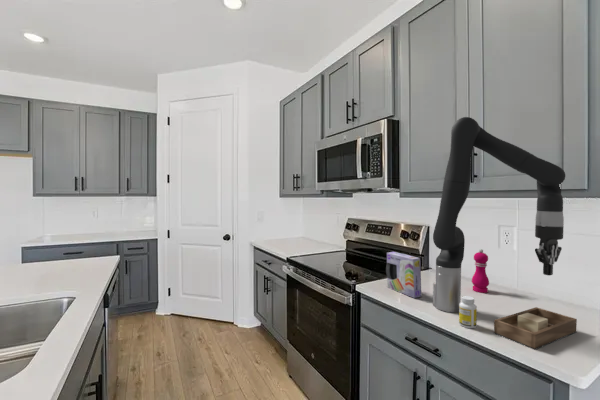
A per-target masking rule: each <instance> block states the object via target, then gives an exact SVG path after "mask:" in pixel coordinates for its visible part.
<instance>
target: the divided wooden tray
mask: <svg viewBox="0 0 600 400" xmlns="http://www.w3.org/2000/svg"><path fill="white" fill-rule="evenodd" d="M525 313H530V314H534V315H537V316H540V317H543V318H546V319H548V327H547V328H545V329H542V330H539V331H537V332H532V331H529V330H526V329H524V328H521V327H518V315H521V314H525ZM493 322H494V323H493V334H494V333H495V335H497V334H498V336H499V335H500V337H502V336H503V337H502V338H504V337H505V339H507V340H509V339H510V340H509V341H512V342H514V341H515V342H514V343H517V344H519V343H520V344H519V345H522V346H524V345H525V347H527V348H530V349H532V350H538V349H540V348H543V347H544V346H547V345H549V344H552V343H554V342H556V341H558V340H562V339H564V338H566V337H569V336H571V335H573V334H576V333H577V323H578V320H577V318H575V317H571V316H567V315H565V314H561V313H558V312H554V311H550V310H547V309H544V308H540V307H537V306H536V307H532V308H529V309H526V310H522V311H519V312H516V313H512V314H510V315H507V316H504V317H503V316H502V317H499V318H497V319H494V321H493ZM542 346H543V347H542Z"/></svg>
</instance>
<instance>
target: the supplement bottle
mask: <svg viewBox="0 0 600 400" xmlns="http://www.w3.org/2000/svg"><path fill="white" fill-rule="evenodd" d="M477 310H478V309H477V305H476V304H475V298H474V297H472V296H470V295H469V296H468V295H464V296H462V295H461V302H460V304H459V311H458V314H459V315H458V323H459V325H460V326H461V327H464V328H467V329H475V328H477V317H478V315H477V313H478V312H477Z"/></svg>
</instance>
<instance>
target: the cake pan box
mask: <svg viewBox="0 0 600 400" xmlns="http://www.w3.org/2000/svg"><path fill="white" fill-rule="evenodd" d="M421 262H422V261H421V257H417V256H413V255H409V254H406V253H400V252H397V251H390V252H389V251H388V252H386V266H385V274H386V278H387V279H386V281H387V286H386V287H387V288H388V289H391V290H393V291H396V292H397V293H398V292H399V293H401V294H403V295H405V296H409V297H411V298H413V299H417V298H422V272H421V271H422V270H421V269H422V268H421Z"/></svg>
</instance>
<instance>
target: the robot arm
mask: <svg viewBox="0 0 600 400" xmlns="http://www.w3.org/2000/svg"><path fill="white" fill-rule="evenodd" d="M450 132H451V133H450V134H451V135H450V150H449V151H450V152H449V158H448V161H447V166H446V169H445V175H444V179H443V185H442V192H441V199H440V204H439V210H438V211H439V212H438V214H437V215H438V216H437V219H436V223H435V227H434V229H433V234H432V240H433V243H434V245H435V247H436V248H437V249H439V250H440V253H439V254H438V256H437V257H436V259H435V282H433V284H432V285H433V287H432V289H433V290H432V294H433V295H432V296H433V297H432V306H434V307H435V308H436V309H437V310H440V311H443V312H447V313H459V304H460V303H461V302H462V300H461V299H462V294H461V293H462V291H461V290H462V287H461V286H462V262H463V260H464V257H465V244H466V243H465V235H464V234H465V233H464V232H463V230H462V229H461V228H460V227H459V226H457V222H458V221H457V220H458V217H459V213H460V212H461V210H462V208H463V206H464V205H465V202H466V200H467V198H468V196H469V191H470V187H471V186H470V185H471V179H472V154H473V148H477V149H479V150H480V151H482V152H485V153H487V154H488V155H490V156H492V157H493V158H495V159H497V160H498V161H499V162H501V163H503V164H504V165H506V166H508V167H510V168H512V169H513V170H515V171H517V172H519V173H522V174H524V175H527V176H529V177H531V178H532V179H534V180H535V181H536V190H537V191H536V193H537V200H536V213H535V227H534V229H535V230H534V237H536V238H537V239H540V240H539V243H538V245H539V247H538V248H535V249H534V252H535V254H536V257H537V260H538V262H539V263H541V264H542V265H543V266H542V267H543V269H542V274H543V275H545V276H548V277H549V276H553V275H554V265H555V263H557V262H558V259H559V257H560V254H561V252H562V247H561V246H559V242H558V240H560V241H561V240H563V239H564V224H565V221H564V220H565V217H564V198H563V196H562V188H561V189H560V187H559V184H561V183H564V181H565V180H566V173H565V171H564V169H563V168H561V166H560V165H557V164H554V163H552V162H550V161H548V160H545V159H543V158H541V157H539V156H538V157H537V156H536V155H534V154H533V153H531V152H529V151H528V150H525V149H523V148H521V147H519V146H517V145H515V144H513V143H510V142H508V141H505V140H503V139H501V138H498V137H496V136H494V135H493V134H491V133H489V132H488V131H486V130H485V129H484V128H482V126H480V125H479V123H478V122H477V120H476V119H474V118H472V117H469V116H464V117H461V118H458V119H457V120H456V121H455V122H454V123H453V125H452V126H451V131H450ZM561 185H562V184H561Z"/></svg>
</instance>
